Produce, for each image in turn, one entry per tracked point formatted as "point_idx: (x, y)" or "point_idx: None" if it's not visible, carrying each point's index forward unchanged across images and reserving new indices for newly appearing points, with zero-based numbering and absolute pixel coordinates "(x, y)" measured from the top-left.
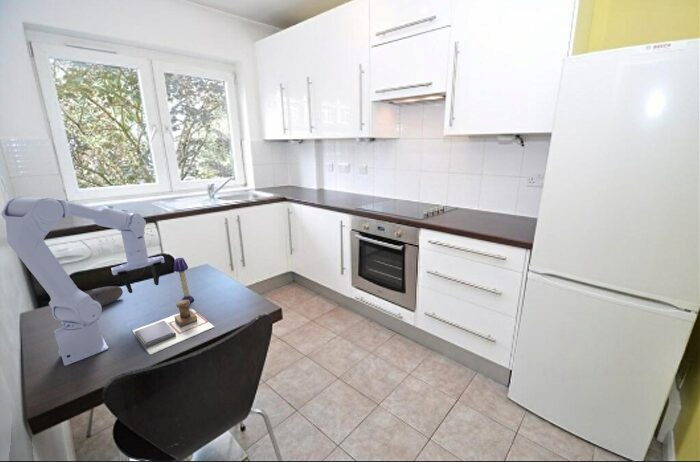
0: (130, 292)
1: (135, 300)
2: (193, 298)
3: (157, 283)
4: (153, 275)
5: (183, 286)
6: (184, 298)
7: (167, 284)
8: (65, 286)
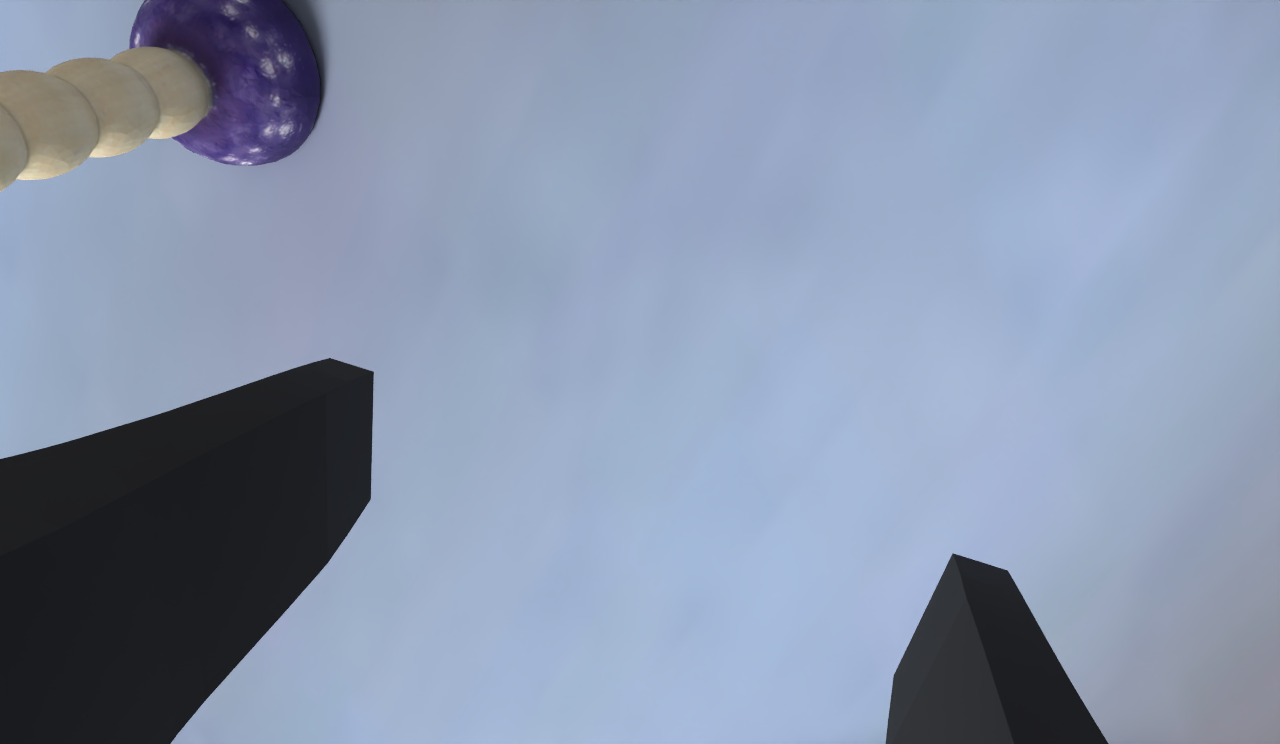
0: (1007, 578)
1: (651, 699)
2: (143, 6)
3: (314, 373)
4: (200, 664)
5: (23, 112)
6: (231, 65)
7: (270, 686)
8: None
